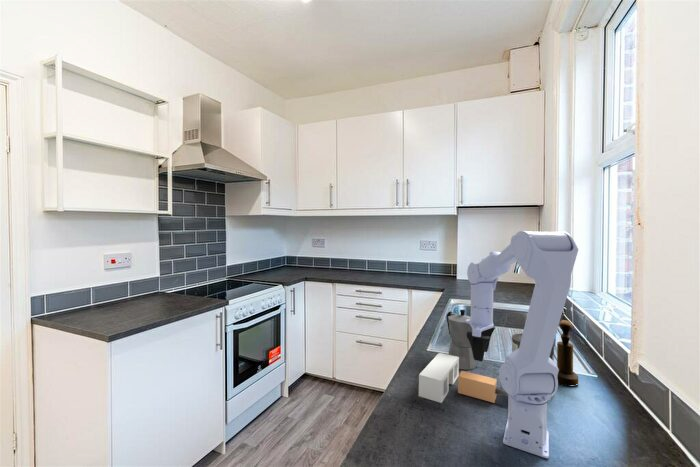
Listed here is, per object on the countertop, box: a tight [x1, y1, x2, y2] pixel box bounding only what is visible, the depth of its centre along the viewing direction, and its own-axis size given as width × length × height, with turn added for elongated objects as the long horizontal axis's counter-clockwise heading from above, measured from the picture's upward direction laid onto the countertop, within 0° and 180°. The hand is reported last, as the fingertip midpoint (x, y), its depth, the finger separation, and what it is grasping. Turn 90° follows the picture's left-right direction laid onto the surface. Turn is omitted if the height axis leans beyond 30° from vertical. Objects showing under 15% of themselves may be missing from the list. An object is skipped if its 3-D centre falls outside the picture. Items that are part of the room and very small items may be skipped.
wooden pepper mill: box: [556, 319, 579, 386], centre depth 92 cm, size 7×6×18 cm
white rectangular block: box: [418, 352, 460, 404], centre depth 89 cm, size 18×6×6 cm, turn 148°
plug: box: [457, 370, 508, 404], centre depth 82 cm, size 4×13×4 cm, turn 58°
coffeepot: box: [445, 309, 477, 371], centre depth 104 cm, size 15×9×18 cm, turn 15°
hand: (480, 355), depth 87 cm, fingers open, 7 cm apart
